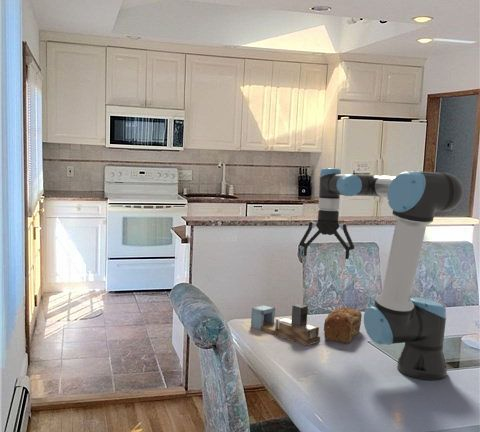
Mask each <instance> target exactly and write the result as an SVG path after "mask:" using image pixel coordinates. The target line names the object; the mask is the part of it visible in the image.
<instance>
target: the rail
mask: <svg viewBox="0 0 480 432" xmlns="http://www.w3.org/2000/svg"><path fill="white" fill-rule="evenodd" d="M289 319H290V320H292V318H289ZM275 324H276V321H274V323H270V322H267V321H263V326H261V330H260V331H262V332H266V333H268V334H271V335H274V336H277V337H281V338H284V339H287V340H290V341H292V342H296V343H298V344H302V345H305V346H309V345H312V344H314V343H317V341H318V342H320V341H321V336H319V333H320V332H319V331H320V327H319V326H316V325H312V324H309V323H307V325H310V326H314V327H317V329H316V337H314V338H311V339H309V331H310V330H306V329H303V328H300V327H297V326H293V325H290V324H287V323H284V322H279V329H276V328H275Z"/></svg>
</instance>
